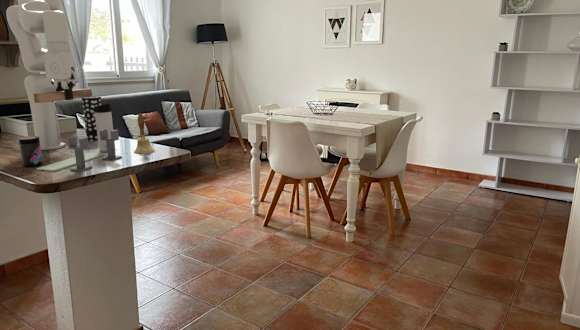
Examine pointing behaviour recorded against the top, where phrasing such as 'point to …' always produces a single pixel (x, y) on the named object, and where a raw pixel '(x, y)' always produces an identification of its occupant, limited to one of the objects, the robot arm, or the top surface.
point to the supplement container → (30, 151)
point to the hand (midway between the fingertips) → (65, 99)
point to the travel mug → (103, 124)
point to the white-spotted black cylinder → (90, 116)
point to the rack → (84, 145)
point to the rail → (61, 95)
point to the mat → (69, 162)
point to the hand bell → (143, 139)
